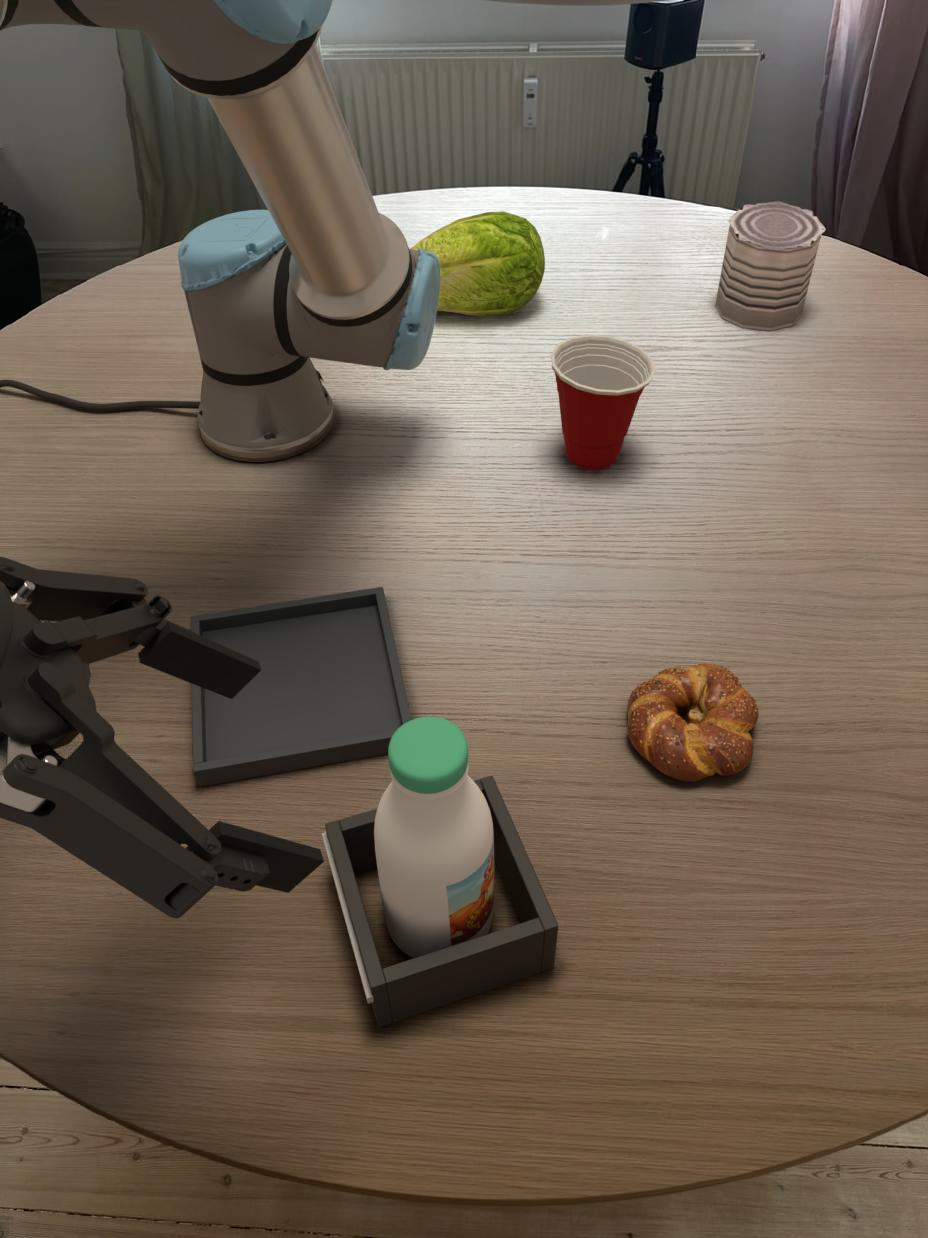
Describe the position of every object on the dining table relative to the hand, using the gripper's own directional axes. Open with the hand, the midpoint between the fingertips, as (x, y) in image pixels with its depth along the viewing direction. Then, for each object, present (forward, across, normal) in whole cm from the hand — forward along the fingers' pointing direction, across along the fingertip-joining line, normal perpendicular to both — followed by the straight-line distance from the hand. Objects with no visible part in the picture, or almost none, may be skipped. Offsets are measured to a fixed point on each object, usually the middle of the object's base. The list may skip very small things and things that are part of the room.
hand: (273, 768), depth 54 cm
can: (+67, +65, -46) cm, 104 cm away
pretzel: (+38, +7, -12) cm, 40 cm away
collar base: (+22, -1, +7) cm, 23 cm away
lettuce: (+44, +81, -19) cm, 94 cm away
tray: (+19, +24, +10) cm, 32 cm away
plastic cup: (+44, +44, -20) cm, 66 cm away
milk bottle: (+22, -1, +7) cm, 23 cm away
